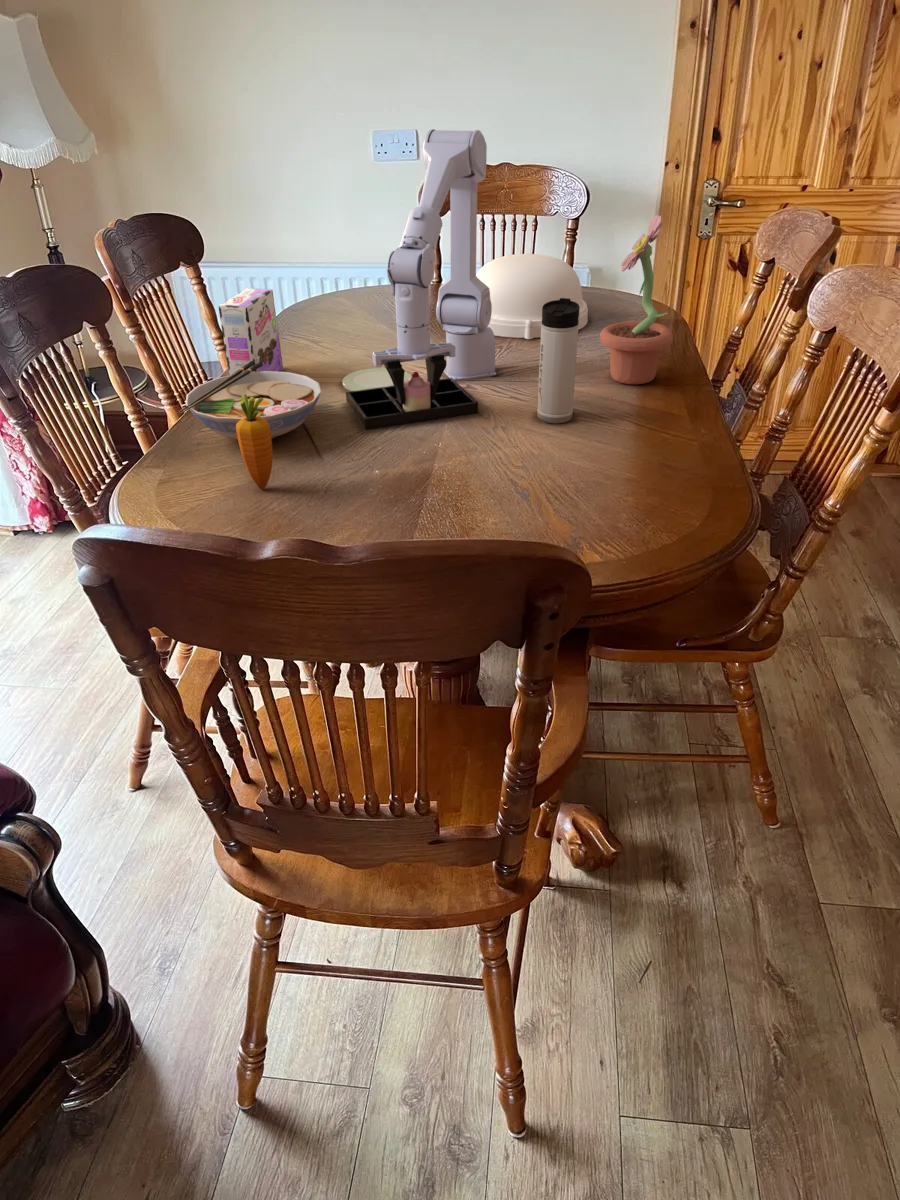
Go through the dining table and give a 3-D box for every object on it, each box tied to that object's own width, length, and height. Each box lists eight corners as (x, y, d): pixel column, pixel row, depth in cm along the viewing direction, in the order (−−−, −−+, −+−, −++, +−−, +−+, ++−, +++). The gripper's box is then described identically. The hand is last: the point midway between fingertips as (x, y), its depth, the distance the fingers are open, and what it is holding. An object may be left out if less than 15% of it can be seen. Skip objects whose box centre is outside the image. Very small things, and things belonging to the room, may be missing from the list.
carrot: (248, 483, 130) (232, 389, 122) (280, 481, 131) (266, 388, 122) (244, 497, 126) (227, 401, 118) (277, 495, 127) (263, 400, 118)
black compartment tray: (346, 404, 158) (345, 392, 156) (452, 389, 163) (451, 377, 162) (365, 432, 146) (364, 419, 145) (478, 415, 152) (478, 402, 151)
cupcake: (426, 407, 155) (424, 365, 150) (435, 417, 151) (434, 374, 146) (399, 411, 153) (396, 369, 149) (407, 421, 149) (405, 378, 145)
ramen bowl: (281, 472, 133) (274, 423, 129) (161, 453, 140) (150, 406, 136) (350, 415, 153) (346, 371, 148) (242, 401, 160) (235, 359, 155)
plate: (401, 368, 174) (401, 364, 174) (422, 390, 163) (421, 385, 163) (335, 376, 170) (335, 372, 170) (352, 399, 159) (351, 395, 159)
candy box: (258, 392, 163) (246, 306, 154) (230, 391, 164) (216, 305, 155) (284, 369, 175) (273, 287, 165) (257, 368, 176) (245, 286, 166)
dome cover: (595, 338, 189) (601, 273, 181) (462, 339, 189) (462, 274, 182) (579, 301, 215) (583, 242, 207) (463, 302, 216) (462, 244, 208)
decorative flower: (598, 364, 174) (612, 206, 158) (667, 367, 172) (687, 208, 155) (594, 388, 162) (608, 221, 146) (667, 392, 160) (690, 223, 143)
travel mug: (575, 412, 152) (583, 299, 141) (568, 425, 147) (575, 309, 136) (542, 408, 154) (547, 296, 143) (533, 421, 149) (538, 306, 138)
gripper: (378, 334, 138) (383, 413, 145) (461, 325, 142) (461, 402, 149) (367, 323, 143) (372, 399, 151) (447, 314, 147) (448, 389, 155)
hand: (416, 400), depth 150 cm, fingers closed on cupcake, 5 cm apart
